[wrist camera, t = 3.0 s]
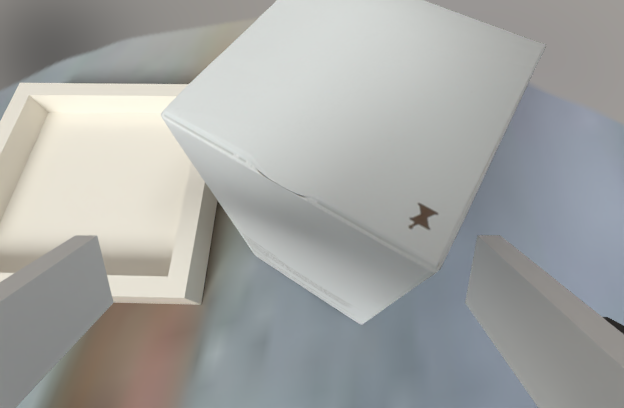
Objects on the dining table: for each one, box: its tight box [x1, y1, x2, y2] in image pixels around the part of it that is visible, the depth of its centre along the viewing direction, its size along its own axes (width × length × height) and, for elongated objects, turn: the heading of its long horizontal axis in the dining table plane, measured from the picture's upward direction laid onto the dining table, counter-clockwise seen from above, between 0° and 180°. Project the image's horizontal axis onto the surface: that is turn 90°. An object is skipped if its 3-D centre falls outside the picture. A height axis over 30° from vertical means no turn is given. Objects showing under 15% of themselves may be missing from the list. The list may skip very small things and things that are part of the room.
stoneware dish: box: [0, 83, 218, 305], centre depth 24 cm, size 16×16×3 cm
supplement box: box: [161, 0, 546, 324], centre depth 17 cm, size 9×9×15 cm
